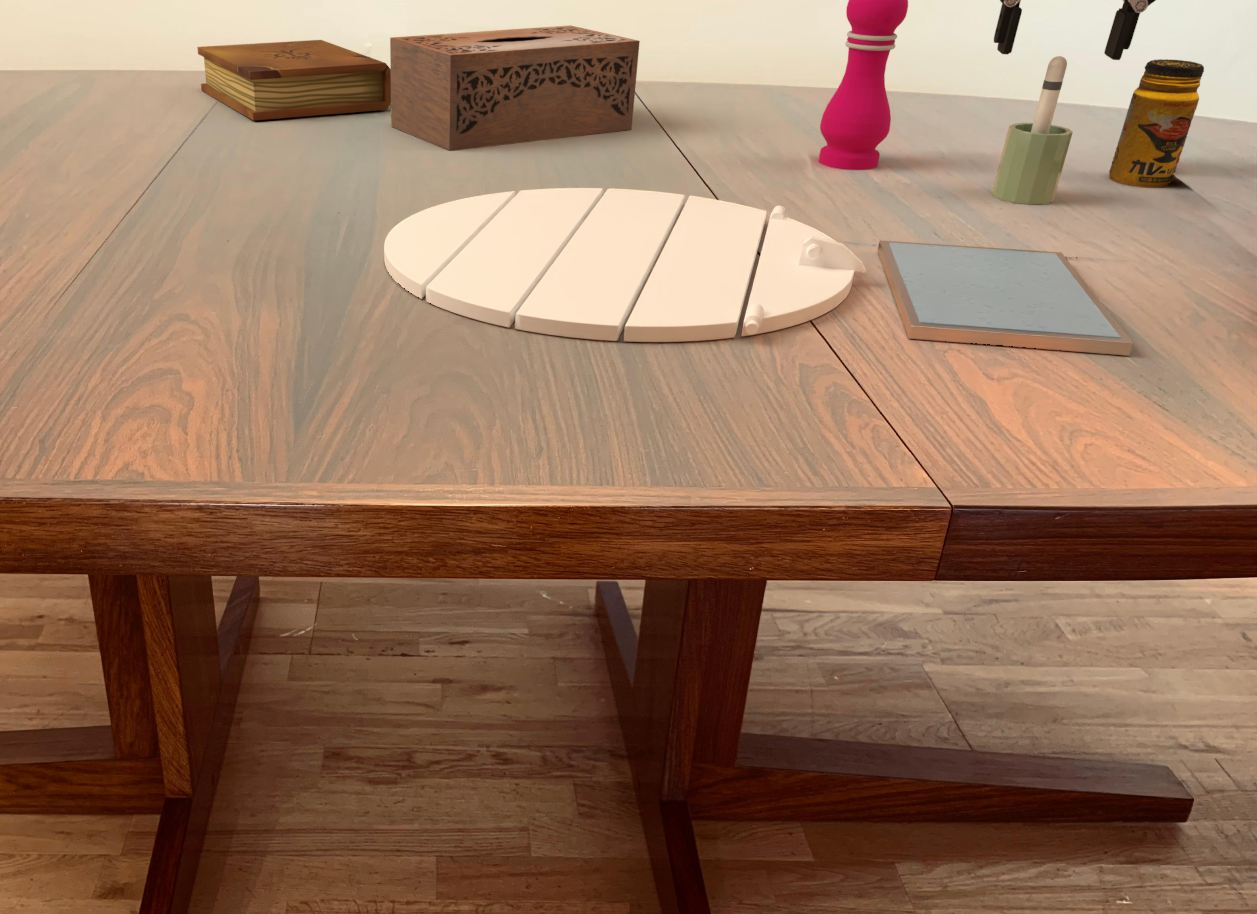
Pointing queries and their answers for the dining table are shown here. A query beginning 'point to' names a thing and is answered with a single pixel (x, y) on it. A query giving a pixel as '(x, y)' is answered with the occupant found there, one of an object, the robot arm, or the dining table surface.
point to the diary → (295, 79)
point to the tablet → (998, 298)
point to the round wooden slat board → (618, 264)
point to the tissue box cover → (512, 85)
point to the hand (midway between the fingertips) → (1057, 54)
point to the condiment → (1157, 124)
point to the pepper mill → (862, 87)
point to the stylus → (1049, 95)
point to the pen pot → (1031, 164)
